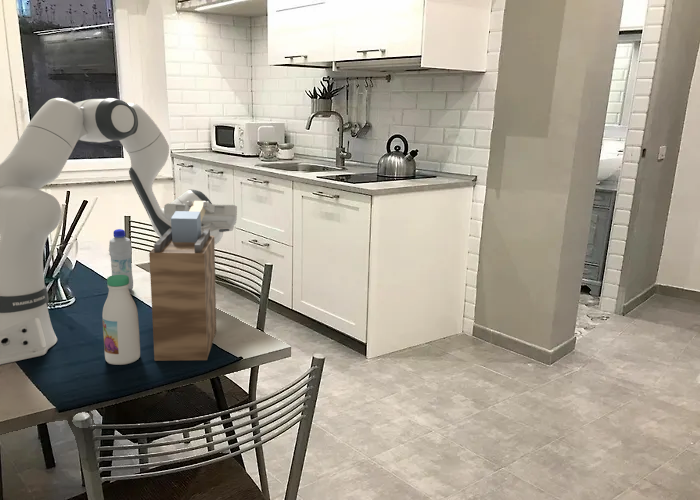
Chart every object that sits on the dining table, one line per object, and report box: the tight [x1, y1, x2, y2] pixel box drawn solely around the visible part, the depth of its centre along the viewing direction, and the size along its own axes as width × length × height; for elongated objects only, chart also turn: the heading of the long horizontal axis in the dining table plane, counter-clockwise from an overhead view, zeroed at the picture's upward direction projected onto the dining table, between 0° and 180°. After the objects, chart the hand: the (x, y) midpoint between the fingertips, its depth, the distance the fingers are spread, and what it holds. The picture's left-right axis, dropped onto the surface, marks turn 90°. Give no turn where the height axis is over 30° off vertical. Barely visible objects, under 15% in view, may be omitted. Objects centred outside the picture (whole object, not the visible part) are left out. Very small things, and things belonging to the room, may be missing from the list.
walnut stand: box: [148, 229, 217, 362], centre depth 141 cm, size 18×12×28 cm, turn 6°
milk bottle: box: [101, 275, 141, 366], centre depth 133 cm, size 8×8×20 cm
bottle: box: [108, 228, 134, 292], centre depth 180 cm, size 7×7×20 cm
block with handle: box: [171, 201, 206, 243], centre depth 151 cm, size 26×6×6 cm, turn 6°
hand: (197, 203), depth 159 cm, fingers closed on block with handle, 3 cm apart
